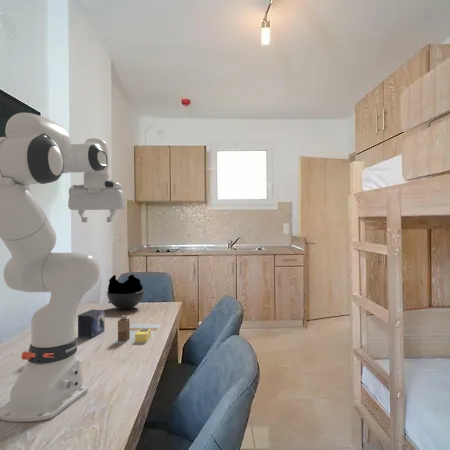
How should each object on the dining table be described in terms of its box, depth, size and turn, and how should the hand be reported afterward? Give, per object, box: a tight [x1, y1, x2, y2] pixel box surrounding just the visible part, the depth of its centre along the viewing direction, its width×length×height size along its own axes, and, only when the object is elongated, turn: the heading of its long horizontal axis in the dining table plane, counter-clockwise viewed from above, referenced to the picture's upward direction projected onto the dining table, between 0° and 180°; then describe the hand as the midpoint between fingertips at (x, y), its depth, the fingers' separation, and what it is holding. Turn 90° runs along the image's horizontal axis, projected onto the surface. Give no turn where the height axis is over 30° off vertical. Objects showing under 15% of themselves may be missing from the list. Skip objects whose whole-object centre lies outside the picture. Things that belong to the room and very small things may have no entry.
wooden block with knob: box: [117, 314, 131, 341], centre depth 140 cm, size 4×4×10 cm
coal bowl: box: [106, 274, 145, 310], centre depth 197 cm, size 20×20×19 cm
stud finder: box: [135, 329, 152, 343], centre depth 140 cm, size 7×4×3 cm, turn 177°
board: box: [110, 323, 162, 344], centre depth 148 cm, size 26×14×1 cm, turn 177°
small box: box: [77, 309, 106, 340], centre depth 147 cm, size 11×6×10 cm, turn 168°
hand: (97, 222), depth 130 cm, fingers open, 8 cm apart
